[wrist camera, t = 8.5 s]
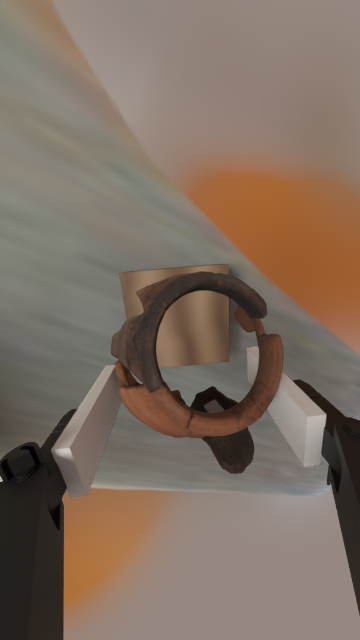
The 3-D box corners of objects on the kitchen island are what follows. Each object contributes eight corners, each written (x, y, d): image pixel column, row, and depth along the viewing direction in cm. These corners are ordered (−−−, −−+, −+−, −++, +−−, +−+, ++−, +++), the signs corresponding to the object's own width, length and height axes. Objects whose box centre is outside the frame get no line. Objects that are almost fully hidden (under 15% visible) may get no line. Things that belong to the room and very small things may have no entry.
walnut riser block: (140, 354, 33) (135, 370, 28) (128, 271, 29) (119, 273, 25) (221, 347, 33) (229, 361, 29) (219, 263, 30) (228, 264, 25)
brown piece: (85, 333, 14) (56, 313, 6) (186, 279, 18) (244, 224, 10) (171, 468, 15) (236, 596, 7) (252, 390, 18) (356, 419, 10)
